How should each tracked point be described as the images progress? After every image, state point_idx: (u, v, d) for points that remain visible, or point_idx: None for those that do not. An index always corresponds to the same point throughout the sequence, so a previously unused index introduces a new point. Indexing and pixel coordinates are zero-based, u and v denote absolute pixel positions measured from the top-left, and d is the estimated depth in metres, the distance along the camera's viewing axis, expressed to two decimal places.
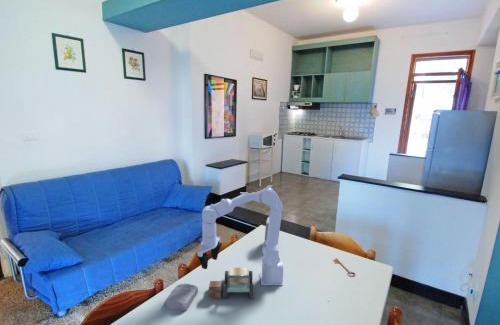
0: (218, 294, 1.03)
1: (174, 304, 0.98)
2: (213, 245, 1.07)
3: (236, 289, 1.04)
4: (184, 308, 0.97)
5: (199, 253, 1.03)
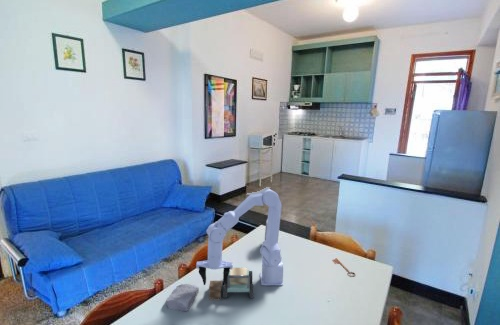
0: (218, 294, 1.03)
1: (175, 304, 0.98)
2: (211, 265, 1.02)
3: (236, 289, 1.04)
4: (185, 308, 0.97)
5: (196, 264, 1.04)
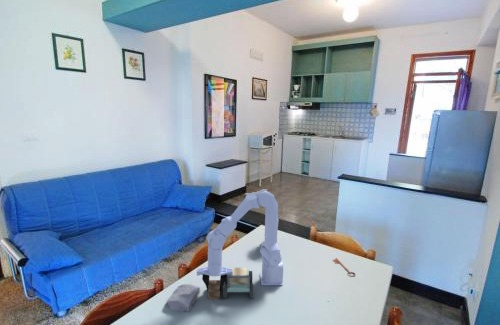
0: (217, 293, 1.04)
1: (176, 304, 0.98)
2: (211, 272, 1.02)
3: (236, 289, 1.04)
4: (186, 308, 0.97)
5: (197, 271, 1.04)
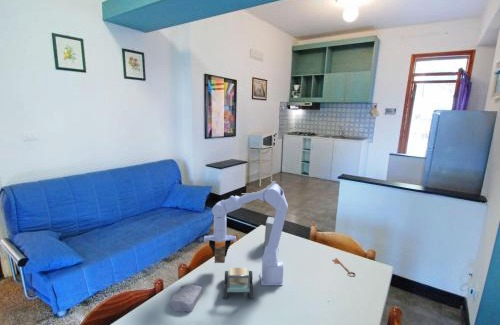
0: (223, 257, 1.16)
1: (179, 304, 0.98)
2: (217, 238, 1.15)
3: (236, 289, 1.04)
4: (189, 309, 0.97)
5: (204, 237, 1.17)
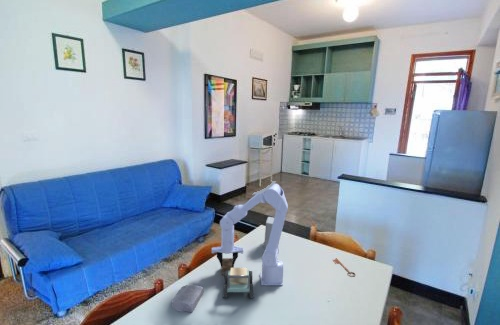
0: (230, 269, 1.18)
1: (180, 305, 0.98)
2: (225, 250, 1.16)
3: (236, 289, 1.04)
4: (190, 309, 0.97)
5: None
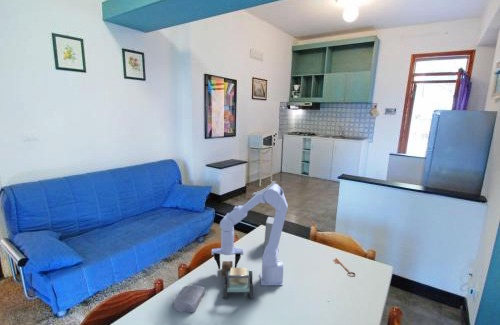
0: None
1: (182, 305, 0.97)
2: (225, 252, 1.16)
3: (236, 289, 1.04)
4: (192, 309, 0.96)
5: (211, 251, 1.18)
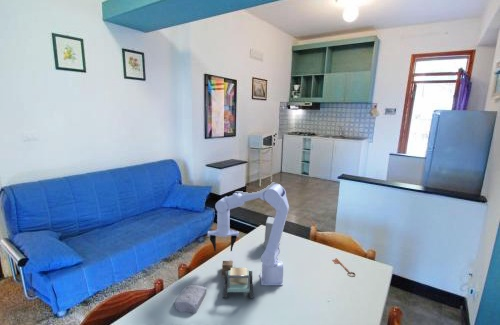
0: None
1: (184, 305, 0.97)
2: (220, 233, 1.18)
3: (236, 289, 1.04)
4: (194, 310, 0.96)
5: None
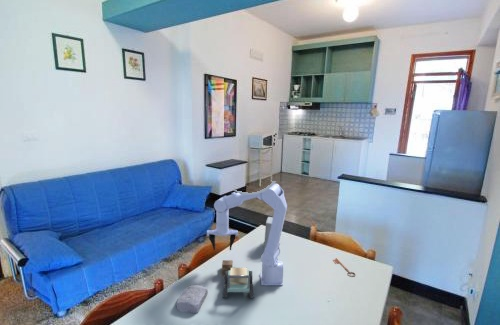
0: None
1: (185, 306, 0.97)
2: (219, 232, 1.19)
3: (236, 289, 1.04)
4: (196, 310, 0.96)
5: (207, 232, 1.22)
